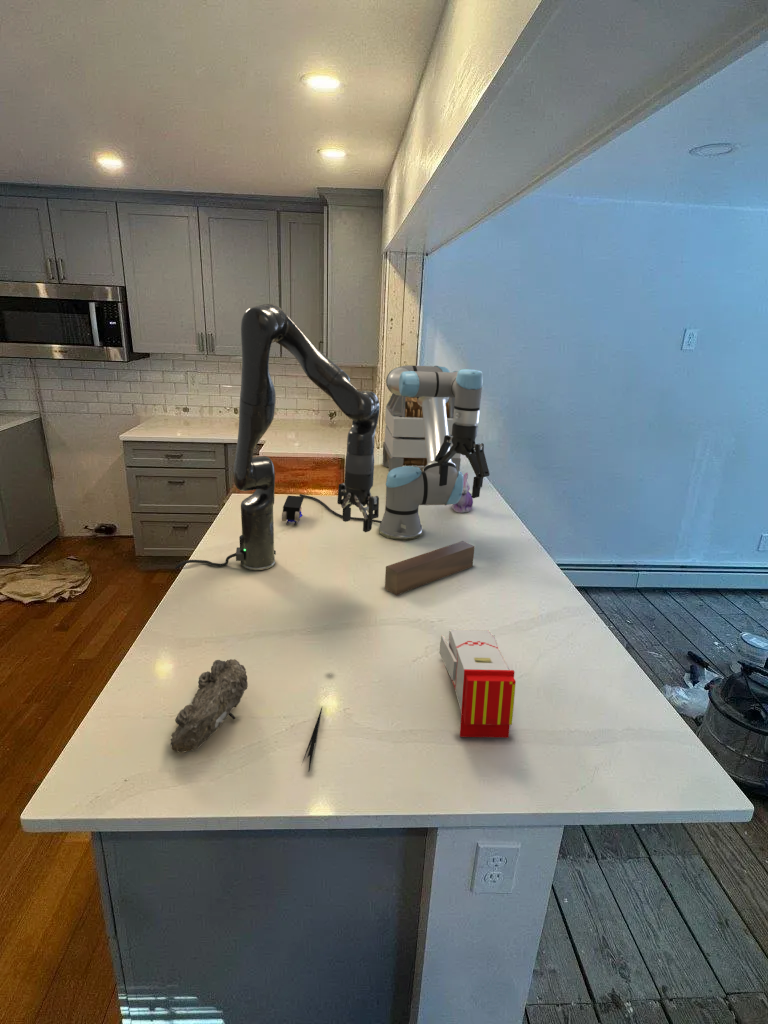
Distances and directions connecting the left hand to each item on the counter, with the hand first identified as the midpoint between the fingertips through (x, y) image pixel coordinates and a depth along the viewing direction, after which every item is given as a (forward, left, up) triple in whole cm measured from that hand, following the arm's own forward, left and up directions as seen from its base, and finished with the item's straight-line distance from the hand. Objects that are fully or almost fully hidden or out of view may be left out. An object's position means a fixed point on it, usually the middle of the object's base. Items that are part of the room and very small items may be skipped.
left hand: (356, 526), depth 153 cm
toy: (+36, -37, -19) cm, 55 cm away
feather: (+9, -54, -19) cm, 58 cm away
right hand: (+24, +31, +3) cm, 39 cm away
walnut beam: (+19, +14, -19) cm, 31 cm away
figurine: (+22, +78, -19) cm, 83 cm away
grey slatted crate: (-4, +124, -19) cm, 126 cm away
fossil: (-11, -59, -19) cm, 63 cm away
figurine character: (-36, +44, -19) cm, 60 cm away
